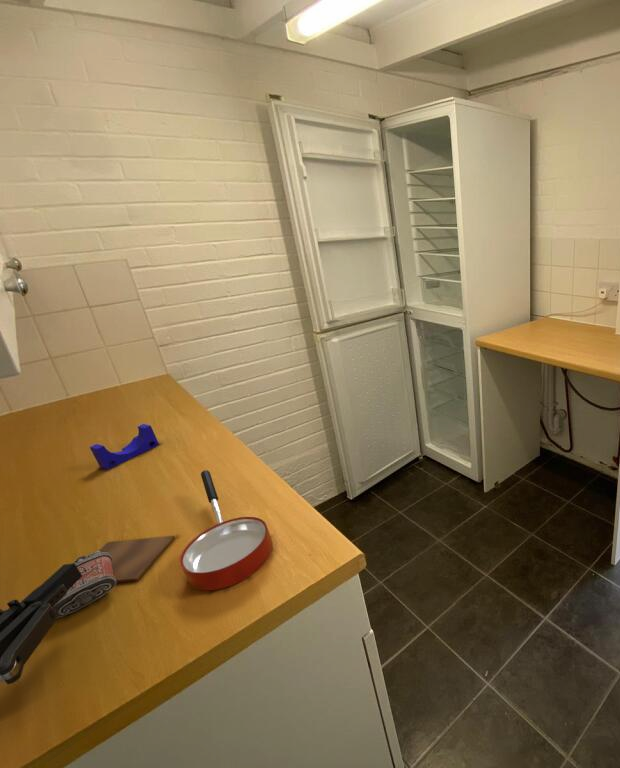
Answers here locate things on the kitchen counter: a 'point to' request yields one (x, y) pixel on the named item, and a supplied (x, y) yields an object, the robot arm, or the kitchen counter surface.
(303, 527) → the kitchen counter surface
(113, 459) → the blue notched block
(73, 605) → the lighter
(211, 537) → the frying pan
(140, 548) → the plate
